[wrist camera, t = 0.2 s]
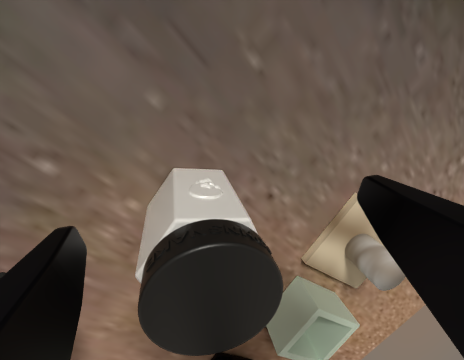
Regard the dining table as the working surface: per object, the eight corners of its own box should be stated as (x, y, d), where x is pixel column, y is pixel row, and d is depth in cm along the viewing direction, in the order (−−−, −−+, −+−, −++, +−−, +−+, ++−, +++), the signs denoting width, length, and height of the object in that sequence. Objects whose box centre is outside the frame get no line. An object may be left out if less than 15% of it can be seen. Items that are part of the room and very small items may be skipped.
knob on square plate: (351, 283, 34) (386, 321, 29) (301, 258, 30) (329, 297, 25) (402, 226, 32) (449, 256, 27) (354, 192, 28) (398, 219, 23)
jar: (244, 168, 24) (305, 239, 13) (234, 239, 27) (277, 346, 16) (147, 163, 22) (125, 246, 11) (147, 242, 25) (129, 368, 14)
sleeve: (301, 330, 35) (321, 366, 31) (262, 317, 33) (277, 355, 28) (335, 292, 34) (360, 325, 29) (297, 275, 31) (318, 308, 27)
